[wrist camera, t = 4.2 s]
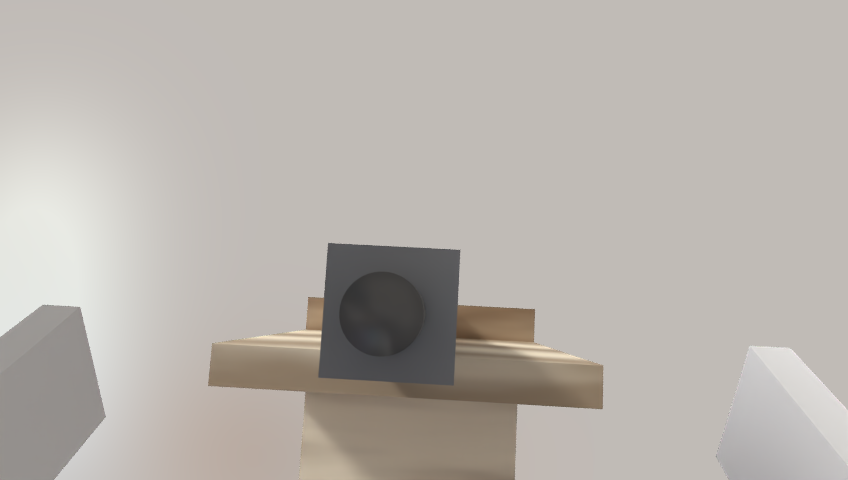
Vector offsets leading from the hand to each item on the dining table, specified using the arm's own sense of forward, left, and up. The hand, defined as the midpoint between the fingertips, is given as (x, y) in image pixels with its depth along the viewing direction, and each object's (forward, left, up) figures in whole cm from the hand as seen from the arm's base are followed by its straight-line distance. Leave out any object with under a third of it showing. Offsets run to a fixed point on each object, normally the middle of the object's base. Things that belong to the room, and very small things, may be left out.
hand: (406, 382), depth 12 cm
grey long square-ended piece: (-9, +8, 0) cm, 12 cm away
